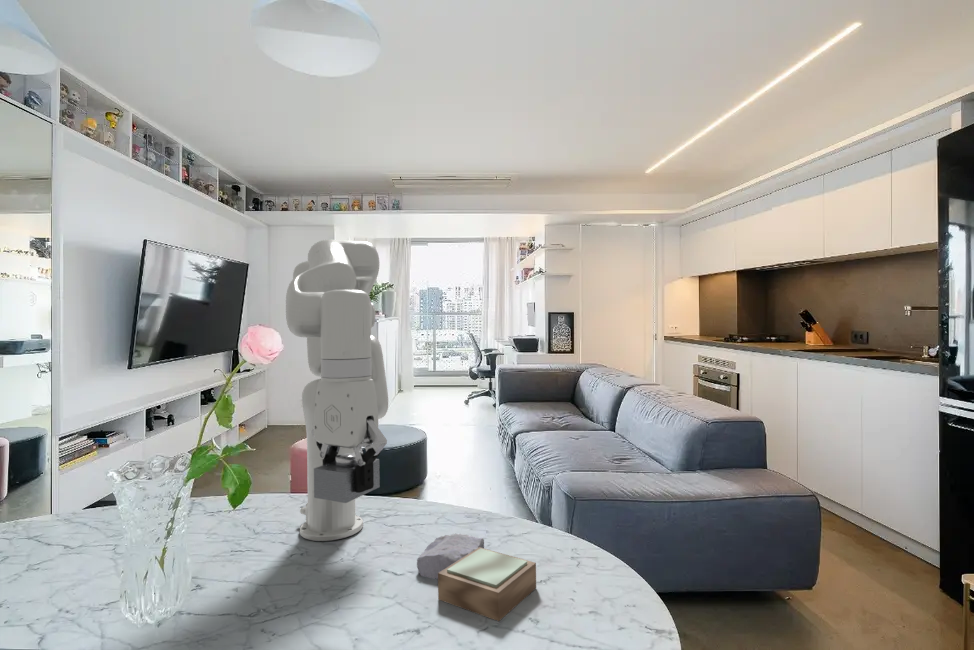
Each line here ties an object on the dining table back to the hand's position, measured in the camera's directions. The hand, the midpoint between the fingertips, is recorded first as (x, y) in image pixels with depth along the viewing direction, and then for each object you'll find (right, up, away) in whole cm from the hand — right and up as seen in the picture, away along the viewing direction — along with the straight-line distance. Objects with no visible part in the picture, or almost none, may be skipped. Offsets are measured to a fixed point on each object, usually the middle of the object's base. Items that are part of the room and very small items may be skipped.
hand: (347, 485), depth 78 cm
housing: (0, -1, 0) cm, 1 cm away
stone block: (+15, -18, +12) cm, 26 cm away
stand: (+22, -17, +1) cm, 28 cm away
